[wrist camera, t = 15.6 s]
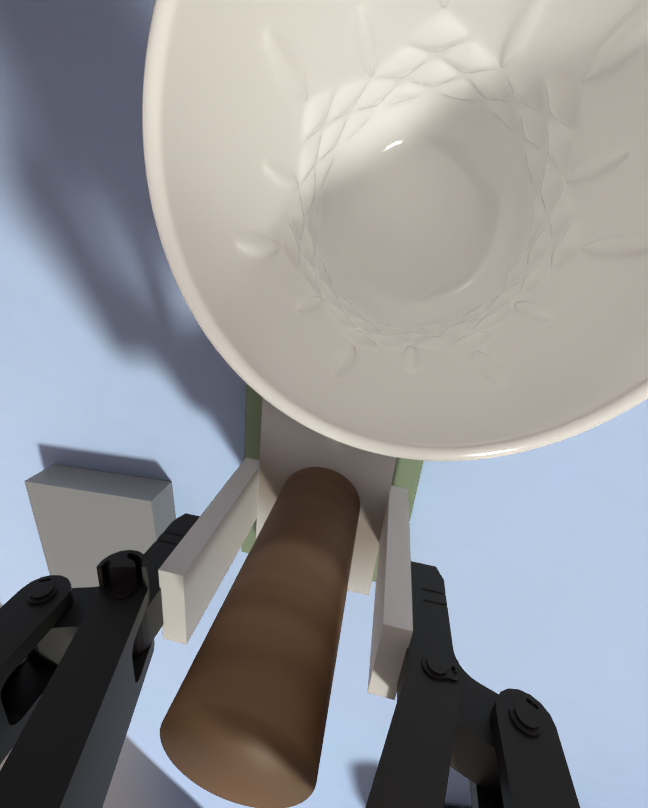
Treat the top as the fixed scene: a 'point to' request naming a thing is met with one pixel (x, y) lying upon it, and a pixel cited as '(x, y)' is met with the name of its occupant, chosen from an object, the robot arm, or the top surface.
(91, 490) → the tile
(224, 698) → the wooden handled stamp
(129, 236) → the top surface
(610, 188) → the white cup
